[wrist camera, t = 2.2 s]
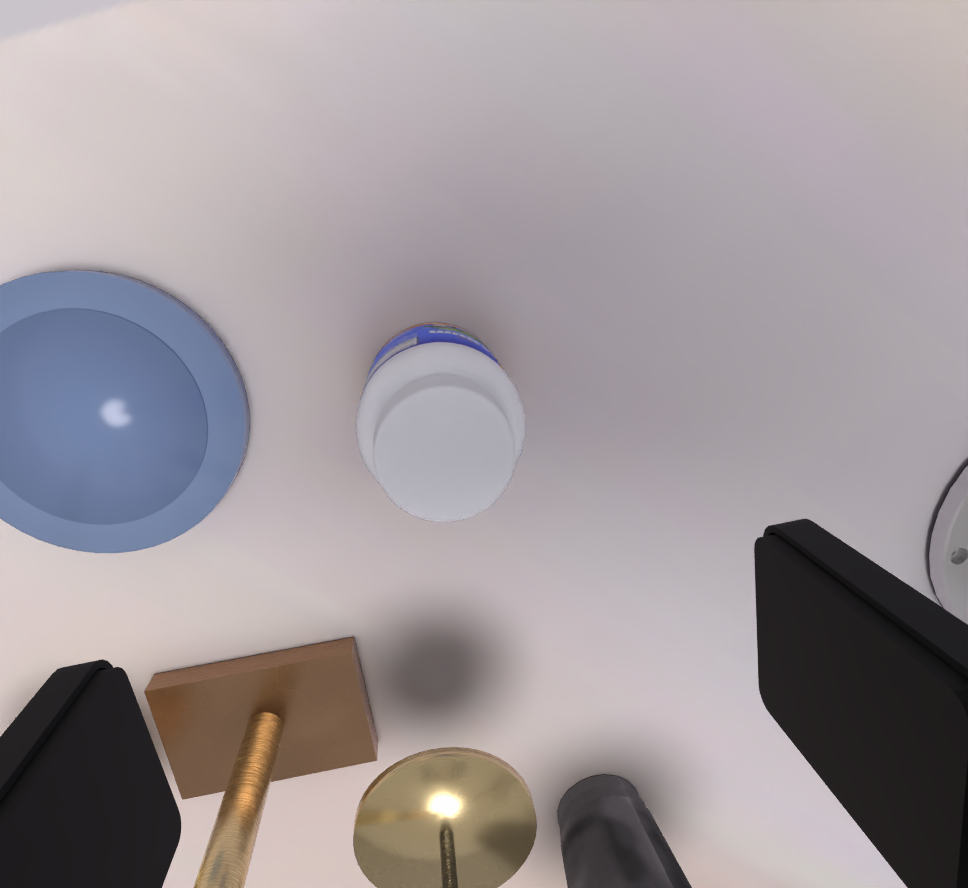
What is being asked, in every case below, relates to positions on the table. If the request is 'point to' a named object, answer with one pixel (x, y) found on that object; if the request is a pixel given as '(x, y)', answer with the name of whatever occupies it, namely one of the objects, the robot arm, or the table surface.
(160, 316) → the dish
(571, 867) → the beverage cup
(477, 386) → the pill bottle
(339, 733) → the balance
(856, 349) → the table surface
